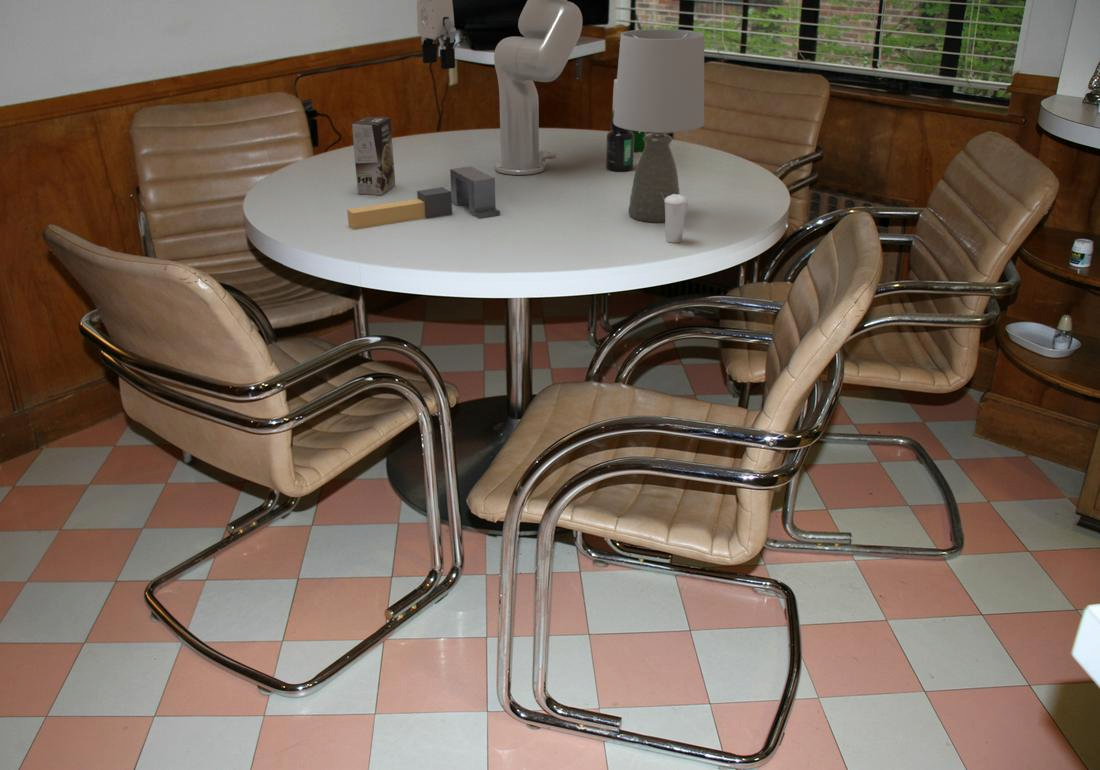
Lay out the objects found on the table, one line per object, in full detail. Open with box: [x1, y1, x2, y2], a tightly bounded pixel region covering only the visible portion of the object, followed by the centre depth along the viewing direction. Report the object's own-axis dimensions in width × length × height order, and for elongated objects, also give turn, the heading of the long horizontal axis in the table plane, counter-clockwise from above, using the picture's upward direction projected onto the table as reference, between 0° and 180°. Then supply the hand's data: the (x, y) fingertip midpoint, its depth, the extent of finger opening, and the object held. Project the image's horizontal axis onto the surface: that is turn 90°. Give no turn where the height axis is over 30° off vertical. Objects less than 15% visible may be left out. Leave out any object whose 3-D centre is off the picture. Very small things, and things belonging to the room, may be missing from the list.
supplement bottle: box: [605, 119, 635, 173], centre depth 246 cm, size 7×7×12 cm
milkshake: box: [661, 192, 689, 244], centre depth 194 cm, size 4×5×10 cm
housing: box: [449, 166, 501, 219], centre depth 216 cm, size 5×16×8 cm, turn 30°
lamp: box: [613, 28, 705, 223], centre depth 204 cm, size 19×19×37 cm
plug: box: [346, 186, 453, 230], centre depth 209 cm, size 22×4×5 cm, turn 120°
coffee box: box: [351, 116, 396, 196], centre depth 228 cm, size 9×6×16 cm
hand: (438, 65), depth 217 cm, fingers open, 9 cm apart
